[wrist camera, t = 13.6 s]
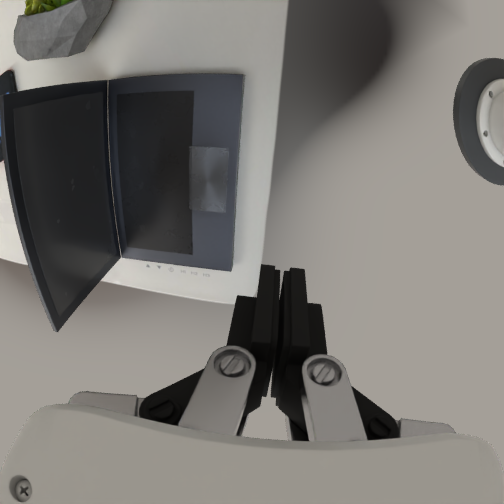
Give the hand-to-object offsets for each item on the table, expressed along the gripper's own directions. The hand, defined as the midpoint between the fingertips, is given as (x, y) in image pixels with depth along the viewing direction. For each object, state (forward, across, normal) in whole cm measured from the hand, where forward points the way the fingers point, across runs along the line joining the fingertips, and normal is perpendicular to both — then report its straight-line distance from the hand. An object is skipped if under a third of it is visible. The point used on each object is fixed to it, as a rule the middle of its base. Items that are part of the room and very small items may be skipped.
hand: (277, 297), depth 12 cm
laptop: (+27, +14, +4) cm, 31 cm away
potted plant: (+27, +28, -20) cm, 44 cm away
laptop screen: (+17, +23, +4) cm, 29 cm away
